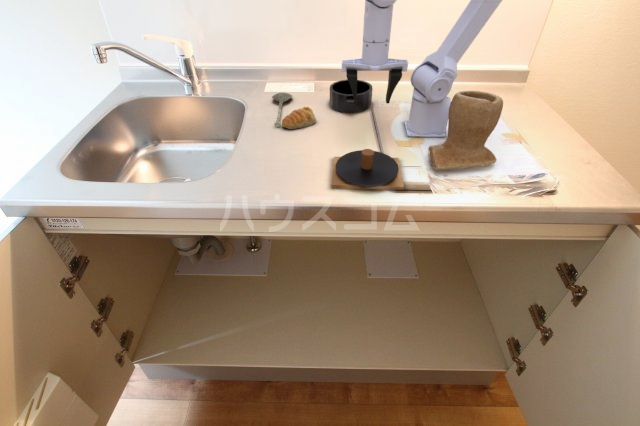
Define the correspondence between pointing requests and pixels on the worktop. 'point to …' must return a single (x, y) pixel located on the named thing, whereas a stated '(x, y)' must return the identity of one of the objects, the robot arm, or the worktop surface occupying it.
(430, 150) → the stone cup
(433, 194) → the worktop surface
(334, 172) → the board
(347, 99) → the pot
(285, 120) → the pastry
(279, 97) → the soupspoon
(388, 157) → the lid
